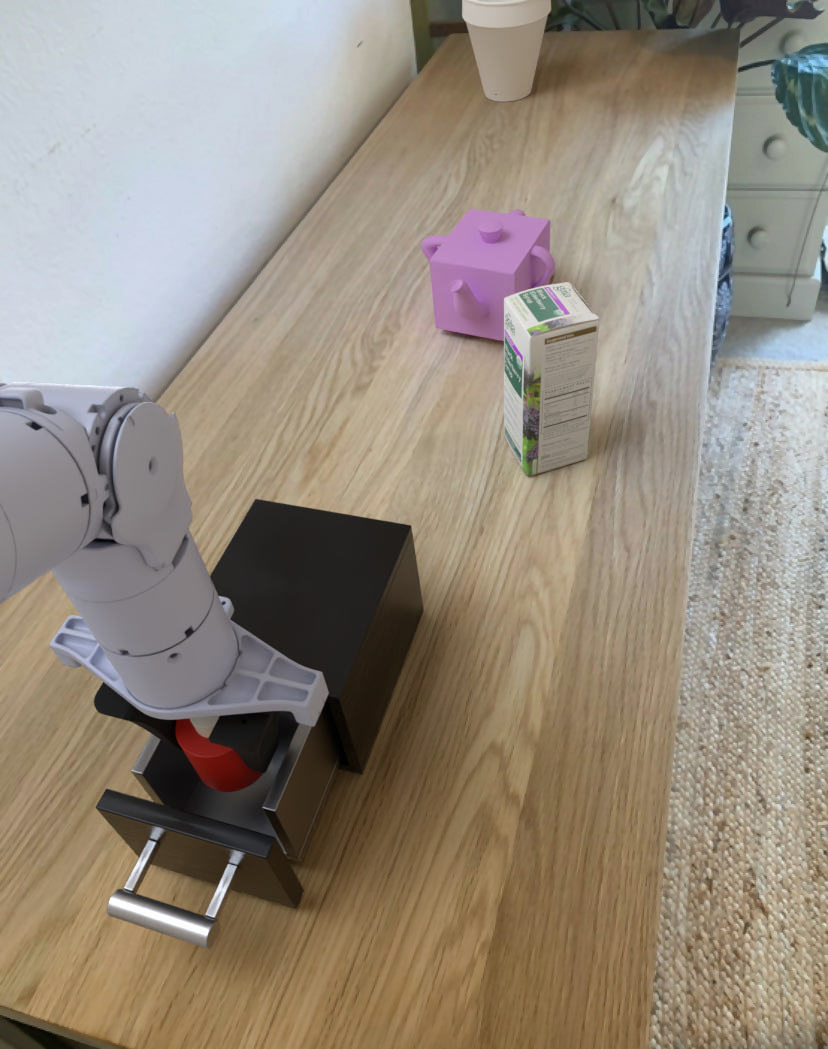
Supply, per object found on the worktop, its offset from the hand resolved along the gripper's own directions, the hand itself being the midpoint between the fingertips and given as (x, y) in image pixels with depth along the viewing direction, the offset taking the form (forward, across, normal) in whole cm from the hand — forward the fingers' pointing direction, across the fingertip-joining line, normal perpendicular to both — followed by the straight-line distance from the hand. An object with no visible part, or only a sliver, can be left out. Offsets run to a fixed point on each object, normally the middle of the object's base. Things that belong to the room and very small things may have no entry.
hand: (228, 746), depth 49 cm
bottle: (+1, 0, 0) cm, 1 cm away
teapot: (+8, -1, -54) cm, 55 cm away
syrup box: (+8, -11, -36) cm, 39 cm away
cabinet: (+8, 0, -10) cm, 13 cm away
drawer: (+7, 0, +1) cm, 7 cm away
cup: (+8, +10, -110) cm, 111 cm away
